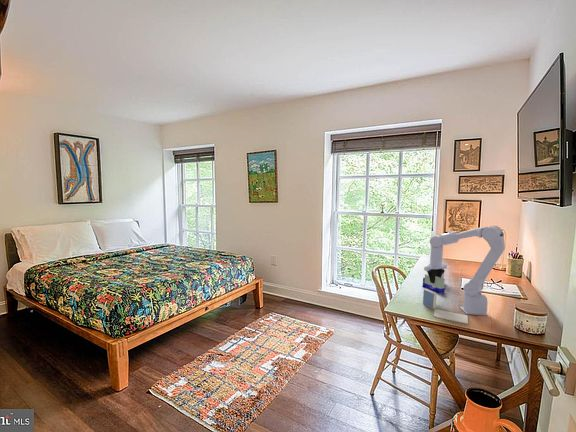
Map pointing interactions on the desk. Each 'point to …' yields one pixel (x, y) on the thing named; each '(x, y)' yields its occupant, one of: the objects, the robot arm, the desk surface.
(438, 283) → the block
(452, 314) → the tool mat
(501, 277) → the desk surface
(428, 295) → the tile
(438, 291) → the cable clip
